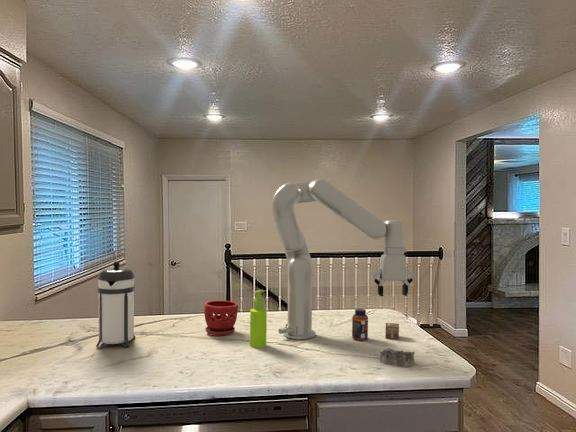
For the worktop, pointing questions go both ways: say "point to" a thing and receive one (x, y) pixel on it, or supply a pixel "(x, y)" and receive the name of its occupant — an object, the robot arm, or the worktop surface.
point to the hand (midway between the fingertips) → (392, 295)
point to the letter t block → (392, 331)
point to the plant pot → (220, 317)
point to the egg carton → (397, 357)
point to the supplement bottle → (360, 325)
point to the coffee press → (116, 306)
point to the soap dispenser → (258, 322)
